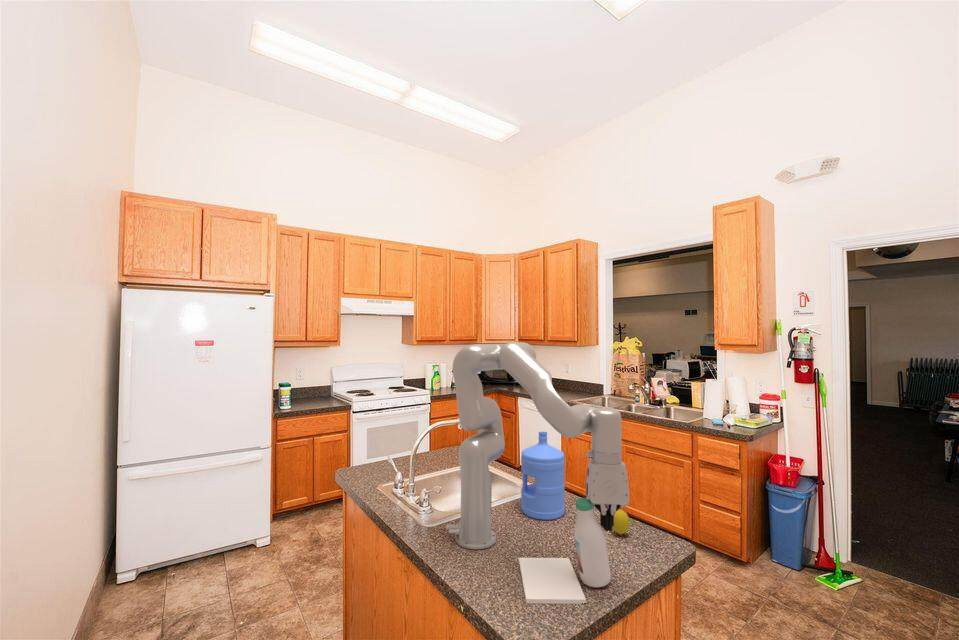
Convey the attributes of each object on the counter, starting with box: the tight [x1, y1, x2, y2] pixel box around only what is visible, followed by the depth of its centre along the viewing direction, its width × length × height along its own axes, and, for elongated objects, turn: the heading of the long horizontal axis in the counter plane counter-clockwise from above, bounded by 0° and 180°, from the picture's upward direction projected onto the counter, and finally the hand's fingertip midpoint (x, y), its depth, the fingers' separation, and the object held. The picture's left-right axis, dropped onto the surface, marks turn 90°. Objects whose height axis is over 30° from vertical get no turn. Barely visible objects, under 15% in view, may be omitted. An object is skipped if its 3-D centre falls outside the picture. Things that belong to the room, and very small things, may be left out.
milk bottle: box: [573, 497, 612, 588], centre depth 105 cm, size 8×8×20 cm
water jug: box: [520, 431, 566, 521], centre depth 147 cm, size 16×16×28 cm
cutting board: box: [518, 557, 587, 605], centre depth 104 cm, size 14×18×1 cm
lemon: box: [612, 508, 630, 536], centre depth 130 cm, size 6×6×8 cm
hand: (607, 528), depth 105 cm, fingers closed
